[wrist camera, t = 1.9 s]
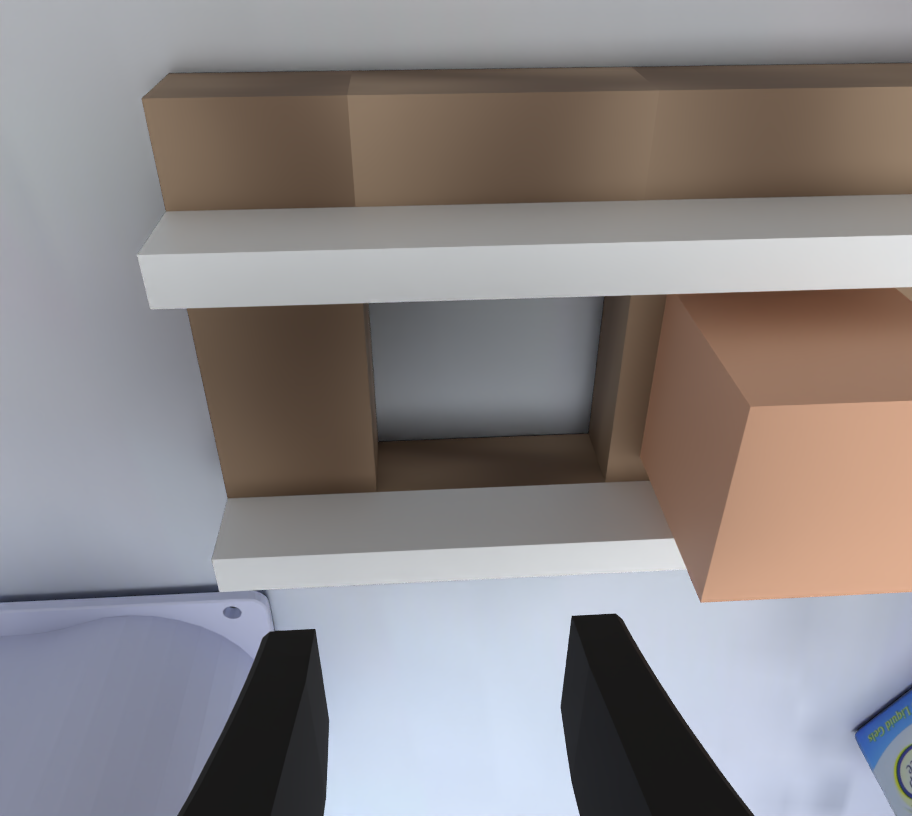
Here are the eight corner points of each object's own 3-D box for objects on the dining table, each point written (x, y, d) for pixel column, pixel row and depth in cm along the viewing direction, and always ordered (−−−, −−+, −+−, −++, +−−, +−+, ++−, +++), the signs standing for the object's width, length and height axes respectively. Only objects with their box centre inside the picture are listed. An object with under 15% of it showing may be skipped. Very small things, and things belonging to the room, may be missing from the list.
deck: (257, 533, 22) (246, 586, 20) (169, 73, 15) (141, 98, 14) (1115, 494, 23) (1170, 542, 22) (1387, 56, 16) (1497, 77, 15)
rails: (234, 529, 19) (219, 591, 18) (165, 211, 15) (136, 255, 13) (950, 497, 20) (999, 554, 18) (1093, 190, 16) (1175, 228, 14)
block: (639, 457, 19) (700, 602, 15) (668, 282, 16) (750, 406, 12) (824, 449, 19) (929, 591, 15) (882, 276, 16) (1024, 396, 13)
